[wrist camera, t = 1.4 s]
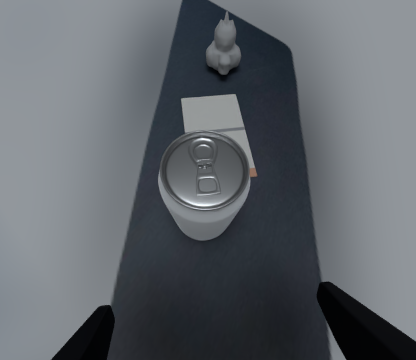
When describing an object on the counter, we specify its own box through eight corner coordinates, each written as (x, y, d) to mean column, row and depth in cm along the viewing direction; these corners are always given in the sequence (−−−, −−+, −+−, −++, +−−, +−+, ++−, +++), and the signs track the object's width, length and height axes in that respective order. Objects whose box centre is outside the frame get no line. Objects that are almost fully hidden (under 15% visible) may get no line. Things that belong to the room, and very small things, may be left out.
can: (225, 184, 25) (245, 120, 14) (234, 237, 22) (267, 211, 11) (173, 190, 24) (151, 128, 13) (177, 244, 22) (153, 224, 11)
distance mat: (256, 176, 25) (257, 176, 25) (191, 184, 25) (191, 183, 24) (235, 94, 31) (235, 94, 31) (181, 99, 30) (181, 98, 30)
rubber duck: (236, 56, 34) (245, 0, 27) (239, 84, 32) (251, 30, 25) (205, 56, 34) (206, -1, 27) (206, 83, 32) (207, 29, 24)
